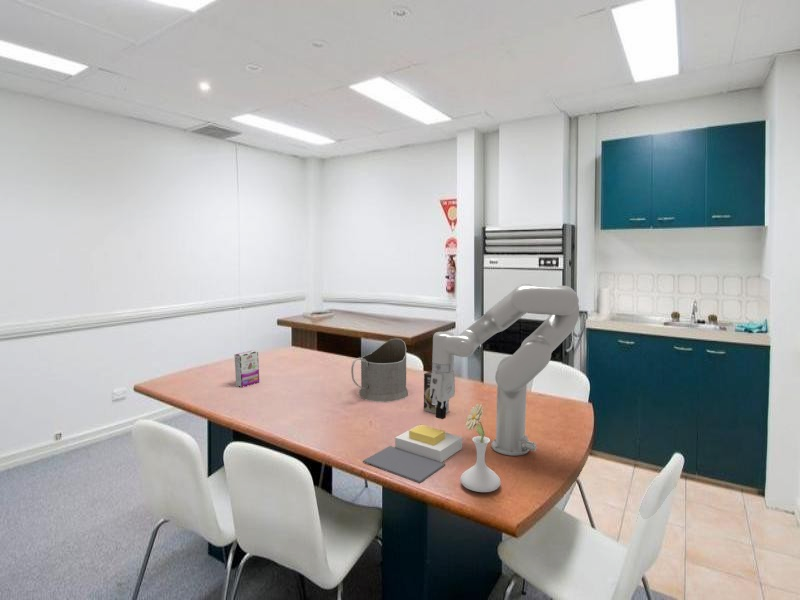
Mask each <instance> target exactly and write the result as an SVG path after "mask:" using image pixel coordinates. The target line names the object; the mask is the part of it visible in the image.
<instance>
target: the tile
mask: <svg viewBox="0 0 800 600" xmlns="http://www.w3.org/2000/svg"><path fill="white" fill-rule="evenodd" d="M416 426H417V427H416ZM416 426H414V427H415V428H414V427H412V428H413V429H412V428H411V429H412V430H410V429H409V430H410V431H409V438H411V439H414V440H418V441H421V442H424V443H428V444H431V445H435V444H437V443H439V442H440V441H442V440H444V439H445V432H446V431H445V430H442V429H438V428H435V427H431V426H428V425H424V424H420V425H419V426H418V425H416Z"/></svg>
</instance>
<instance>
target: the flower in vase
mask: <svg viewBox="0 0 800 600" xmlns="http://www.w3.org/2000/svg"><path fill="white" fill-rule="evenodd" d="M483 410H484V408H483V405H482V404H480V405H479V403H476V404H475V405H474V406H472V407H471V410H470V412H469V414H467V417H466V419H467V421H466V423H465V427H466V430H467V431H472V430H474V429H475V428H476V429H475V430H476V433H477V434H478V435H477V436H474V437H472V440H471V441H472V442H473V443H474V445H475V449H476V450H475V451H476V462H475V464H474V465H473V466H470V467H469V468H468V469H466V470H465V471H464V472H462V474H461V475H460V478H459V479H460V480H459V481H460V483H461V485H462V486H464V488H466V489H467V490H470V491H473V492H477V493H491V492H493V491H496V490H498V489H499V488H500V486H501V483H502V482H501V478H500V477H499V475H498V474H497V473H496V472H495V471H494V470H492V469H491V468H490V467H488V466H487V464H486V459H485V458H486V456H485V455H486V450H487V446H488V444H489V443H490V442H491V439H490V438H489V437H487V436H485V435H486V431H485V430H484V427H483V424H482V422H481V419H482V417H483V414H484V412H483Z"/></svg>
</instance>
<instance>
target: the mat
mask: <svg viewBox="0 0 800 600" xmlns="http://www.w3.org/2000/svg"><path fill="white" fill-rule="evenodd" d="M363 462H365V463H364V464H366V463H368V464H367V465H369V464H371V465H370V466H372V465H374V466H376V467H375V468H377V467H379V468H378V469H380V468H381V469H380V470H383V469H384V470H383V471H385V470H387V471H386V472H388V471H389V472H388V473H391V472H392V473H391V474H394V475H396V474H398V475H397V476H399V475H400V476H399V477H402V476H403V477H402V478H404V479H407V478H408V479H407V480H410V481H413V482H416V483H418V484H421V483H422V482H424V481H425V480H427V479H428V478H429V477H431V476H433V474H435V473H437V472H438V471H440V470H441V469H442V468H443V467H445V466H446V463H445V462H439V461H436V460H433V459H430V458H427V457H424V456H420V455H417V454H414V453H411V452H408V451H405V450H402V449H399V448H395V446H392V445H389V446H387V447H385V448H383V449H381V450H379V451H378V452H375V453H374V454H373V455H370V456H369V457H366V458H364V459H363V460H362V463H363ZM374 466H373V467H374Z"/></svg>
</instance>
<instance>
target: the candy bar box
mask: <svg viewBox="0 0 800 600" xmlns="http://www.w3.org/2000/svg"><path fill="white" fill-rule="evenodd" d="M234 368H235V372H234V374H235V386H236V385H237V386H236V387H238V386H241V387H240V388H244V387H243V386H245V387H248V386H247V385H249V386H251V385H250V384H252V385H255V384H258V383H260V369H259V368H260V366H259V351H258V350H252V349H251V350H249V351H243V352H239V353H236V354H234ZM257 382H258V383H257ZM254 383H255V384H254Z"/></svg>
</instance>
